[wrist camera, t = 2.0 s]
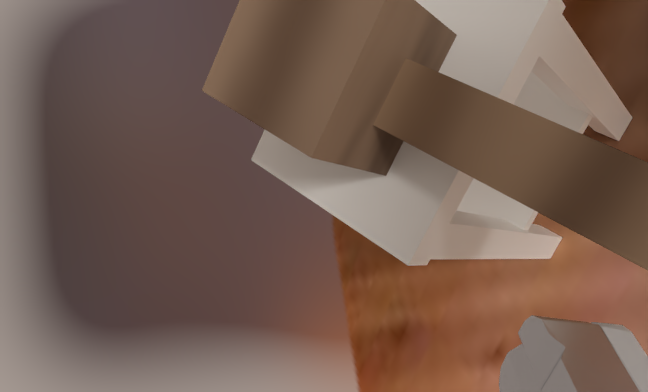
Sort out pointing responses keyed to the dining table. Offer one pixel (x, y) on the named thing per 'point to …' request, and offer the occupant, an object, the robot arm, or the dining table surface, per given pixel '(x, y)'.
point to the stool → (444, 180)
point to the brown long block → (417, 111)
